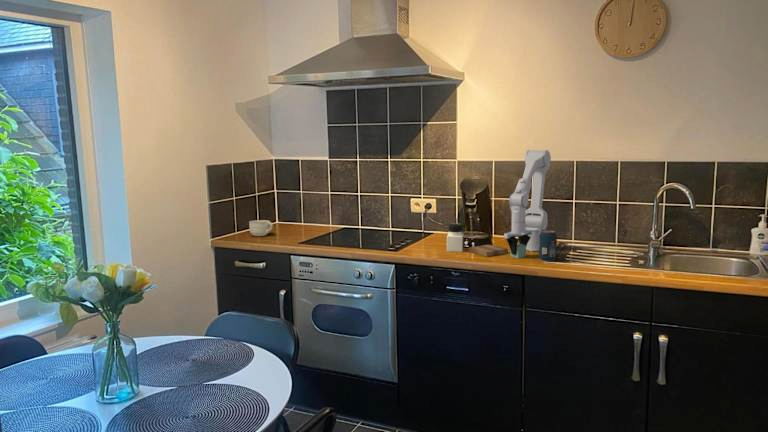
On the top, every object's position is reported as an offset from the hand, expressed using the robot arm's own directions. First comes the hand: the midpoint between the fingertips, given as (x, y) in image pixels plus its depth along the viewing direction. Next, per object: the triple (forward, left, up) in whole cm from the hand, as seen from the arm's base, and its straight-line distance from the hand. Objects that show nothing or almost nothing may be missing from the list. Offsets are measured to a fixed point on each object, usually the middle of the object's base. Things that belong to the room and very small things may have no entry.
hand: (518, 253), depth 255 cm
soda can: (-8, +10, -2) cm, 13 cm away
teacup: (+97, -95, -2) cm, 136 cm away
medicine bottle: (+19, -22, -2) cm, 29 cm away
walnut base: (+8, -12, -1) cm, 15 cm away
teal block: (0, 0, -1) cm, 1 cm away
